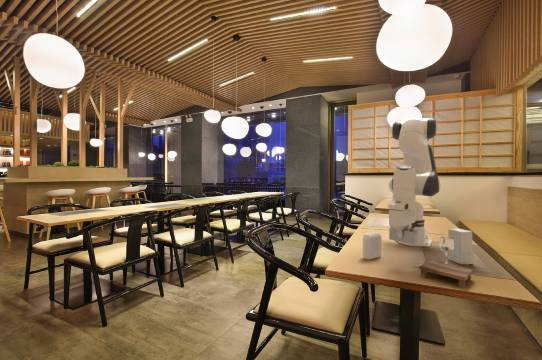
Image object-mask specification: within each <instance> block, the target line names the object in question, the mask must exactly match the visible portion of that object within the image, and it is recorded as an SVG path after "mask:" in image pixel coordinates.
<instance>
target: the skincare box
mask: <svg viewBox="0 0 542 360" xmlns="http://www.w3.org/2000/svg"><path fill="white" fill-rule="evenodd" d="M447 234H448V235H447V237H450V238H453V240H454V245H455V248H454V250H453V251H452V252H449V253H448V260H450V261H453V262H455V263H457V264H459V265H469V264H474V256H473V254H474V250H473V249H474V248H473V246H474V245H473V231H471V230H468V229H467V230H466V229H463V228H448V231H447Z"/></svg>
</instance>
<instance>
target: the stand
mask: <svg viewBox="0 0 542 360" xmlns="http://www.w3.org/2000/svg"><path fill="white" fill-rule="evenodd" d="M418 270H419V271H420V272H419V275H420V277H421V278H426V277H427V272H428V273H432V274H437V275H440V276H445V277H449V278H452V279H456V280H458V288H461V289H465V287H466V281H469V282H471V280H472V274H473V273H474V272H473V271H474V270H473V269H472V268H468V267H464V266H463V267H462V266H460V265H459V266H458V265H454V264H451V265H450V263H448V264H446V263H445V262H441V261H440V262H439V261H435V260H432V259H428V260H426V261H425V262H423V263H421V264H420V265H419V266H418Z"/></svg>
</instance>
